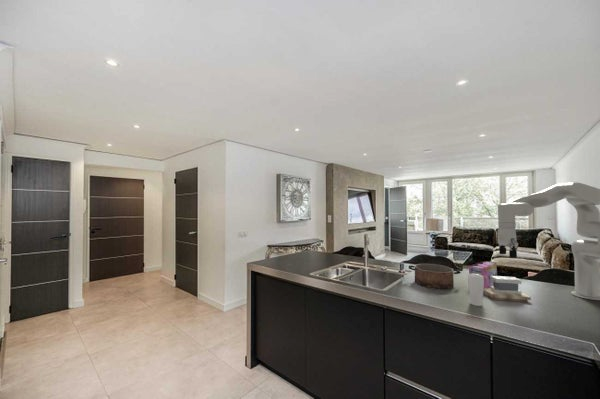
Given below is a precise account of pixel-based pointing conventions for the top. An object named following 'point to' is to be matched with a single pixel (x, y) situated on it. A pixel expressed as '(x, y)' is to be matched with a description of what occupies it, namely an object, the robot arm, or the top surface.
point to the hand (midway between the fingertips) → (507, 255)
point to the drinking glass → (476, 289)
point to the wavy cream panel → (506, 296)
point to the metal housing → (505, 285)
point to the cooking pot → (434, 276)
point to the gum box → (484, 271)
